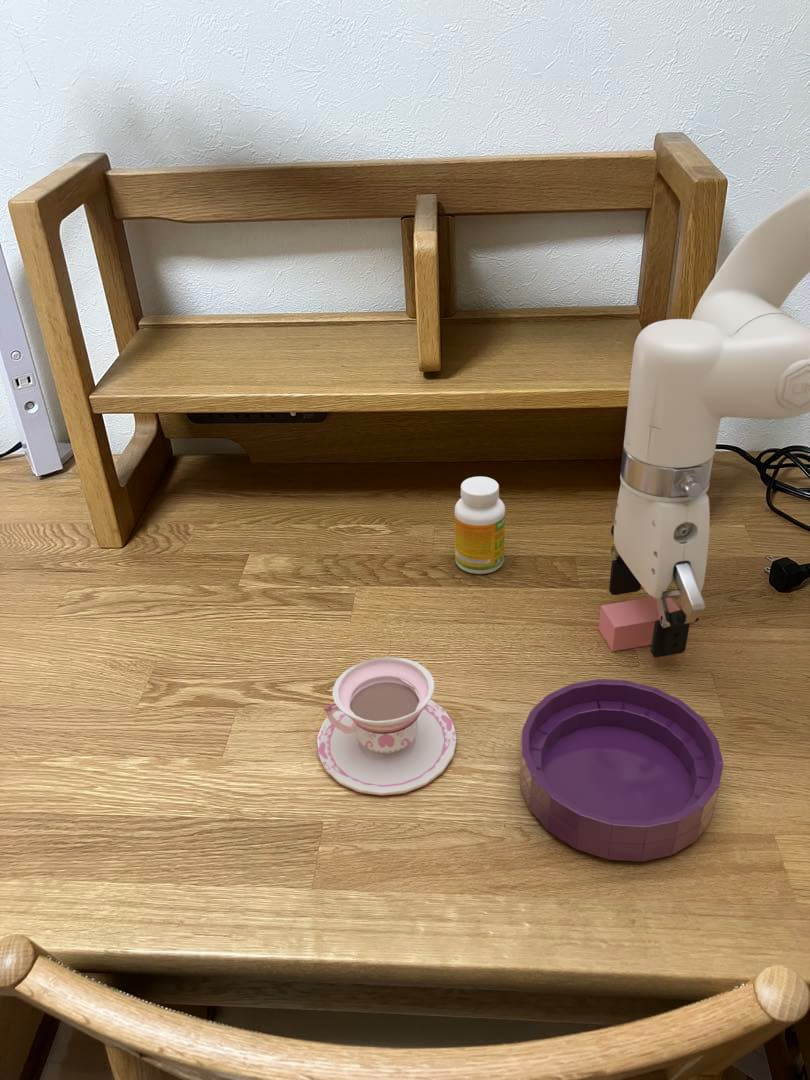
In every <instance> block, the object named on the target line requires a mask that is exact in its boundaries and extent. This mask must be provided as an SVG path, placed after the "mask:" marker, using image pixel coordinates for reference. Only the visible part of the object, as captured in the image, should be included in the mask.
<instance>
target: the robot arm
mask: <svg viewBox="0 0 810 1080" xmlns="http://www.w3.org/2000/svg"><path fill="white" fill-rule="evenodd" d="M809 273H810V184H809V185H807V186H806V187H804V188H803V189H801V190H799V191H798V192H797V193H796V194H794V195H793V196H791V197H790V198H789V199H788V200H786V201H785V202H784V203H782V204H781V205H780V206H779V207H777V208H776V209H775V210H774V211H772V212H771V213H769V214H768V215H767V216H766V217H764V218H763V219H762V220H761V221H759V222H758V223H757V224H756V225H754V227H752V228H751V229H750V230H749V231H748V232H747V233H746V234H745V235H744V236H743V237H742V238H741V240H740V241H738V243H737V244H736V245H735V247H733V249H732V251H730V252H729V254H728V255H727V257H726V259H725V260H724V262H723V263H722V265H721V266H720V268H719V269H718V271H717V272H716V274H715V275H714V277H713V278H712V280H711V281H710V282H709V284H708V286H707V287H706V289H705V291H704V292H703V294H702V295H701V297H700V299H699V301H698V303H697V304H696V307H695V308H694V311H693V313H692V315H691V317H690V319H689V318H672V319H663V320H659V321H656V322H653V323H650V324H648V325H647V326H645V327H644V328H643V329H642V330H641V331H640V332H639V333H638V335H637V337H636V339H635V341H634V345H633V352H632V361H631V369H630V381H629V388H628V389H629V390H628V400H627V407H626V408H627V409H626V418H625V427H624V429H625V430H624V438H623V446H622V456H621V464H620V465H621V466H620V474H619V475H620V476H619V480H620V485H619V489H618V496H617V501H616V503H611V506H610V509H611V518H612V519H611V521H612V524H613V525H612V526H611V528H610V534H611V535H612V539H613V544H614V545H612V547H610V555H611V557H612V560H611V566H610V577H609V585H608V591H609V594H611V595H612V596H619V595H625V594H631V593H637V592H640V591H641V588H643V589H644V591H645V592H646V593H647V594H648V595H649V596H650V597H653V598H655V599H656V604H657V609H658V614H659V619H660V620H657V621H655V624H654V631H653V638H652V645H650V655H651V656H652V657H653V658H655V659H657V658H662V657H667V656H674V655H679V654H683V653H684V652H685V651H686V648H687V642H688V636H689V632H690V631H689V630H690V625H691V624H694V623H696V622H698V621H699V620H700V617H701V616H702V615H703V613H704V612H705V610H706V604H705V599H704V598H703V595H702V593H701V592H702V591H703V588H704V584H705V578H706V572H707V564H708V555H709V554H708V553H709V545H710V528H711V527H710V526H711V518H710V517H711V516H710V515H711V514H710V512H711V511H710V498H709V495H708V493H707V492H708V490H709V489H710V483H711V478H712V473H713V472H712V471H713V465H714V460H715V452H716V448H717V442H718V435H719V429H720V424H721V419H723V418H741V419H757V420H784V419H791V418H795V417H800V416H802V415H805V414H807V413H810V327H808V326H807V325H805V324H803V323H802V322H800V321H799V320H797V319H795V318H794V317H792V316H791V315H789V313H787V312H784V311H783V310H781V309H780V308H781V307H782V305H783V304H784V302H786V300H787V298H788V297H789V296H790V294H791V293H792V292H793V290H794V289H795V288H796V287H797V285H799V284H800V282H801V281H802V280H803V279H804V278H805V277H806V276H807V275H808V274H809ZM671 583H675V584H676V587H677V589H670V590H668V588H669V587H670V585H671ZM669 597H670V598H674V597H678V600H679V605H680V610H678V611H674V612H671V613H669V609H668V603H667V598H669Z"/></svg>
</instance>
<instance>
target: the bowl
mask: <svg viewBox="0 0 810 1080" xmlns="http://www.w3.org/2000/svg"><path fill="white" fill-rule="evenodd" d="M520 736H521V737H520V738H521V739H520V756H519V757H520V760H519V761H520V762H519V786H520V789H521V792H522V794H523V796H524V799H525V802H526V804H527V807H528V809H529V811H530V812H531V813H532V814H533V815H534V817H536V818H537V820H538V821H539V823H540V824H541V825H542V826H543V827H544V828H545V829H546V830H547V832H549V833H550V834H552V835H554V836H555V837H557V838H558V839H560V840H561V841H563V842H564V843H566V844H567V845H569V846H571V847H572V848H574V849H576V850H578V851H580V852H584V853H587V854H589V855H593V856H595V857H600V858H603V859H604V860H610V861H626V862H627V861H628V862H647V861H651V860H655V859H661V858H664V857H665V858H666V857H670V856H673V855H675V854H677V853H678V852H680V851H682V850H683V849H685V848H687V847H688V846H690V845H691V844H693V843H695V842H696V841H698V839H699V838H700V836H702V834H703V833H704V831H705V830H706V828H707V827H708V826H709V824H710V823H711V821H712V819H713V815H714V811H715V806H716V802H717V799H718V794H719V789H720V784H721V780H722V775H723V769H724V759H723V755H722V751H721V747H720V743H719V740H718V738H717V737H716V735H715V734H714V732H713V730H712V729H711V728H710V726H709V725H708V723H707V722H706V721H705V719H704V717H702V716H701V715H700V714H698V713H697V712H696V711H695V710H694V709H692V708H691V707H690V706H688V704H686V703H685V702H684V701H683V700H681V699H679V698H677V697H675V696H673V695H671V694H669V693H667V692H665V691H663V690H661V689H659V688H657V687H654V686H649V685H646V684H642V683H638V682H633V681H630V680H625V679H624V680H622V679H601V678H600V679H599V678H597V679H591V680H585V681H581V682H580V681H579V682H574V683H571V684H568V685H566V686H563V687H561V688H559V689H557V690H555V691H552V692H550V693H548V694H547V695H545V696H544V698H543V699H541V700H540V701H539V702H538V703H537V704H536V705H534V707H532V709H531V710H530V711H529V714H528V716H527V718H526V720H525V723H524V725H523V727H522V728H521V735H520Z"/></svg>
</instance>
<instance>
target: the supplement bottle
mask: <svg viewBox="0 0 810 1080" xmlns="http://www.w3.org/2000/svg"><path fill="white" fill-rule="evenodd" d="M505 537H506V505H505V503H504V502H503V500H502V499H501V498H500V485H499V483H498V482H497V481H496V480H495V479H493V478H491V477H488V476H472V477H467V478H466V479H464V480H463V481H462V482H461V484H460V498H459V499H458V501H457V502H456V504H455V506H454V560H455V564H456V565H457V566H458V568H459V569H461V570H462V571H463V572H466V573H469V574H474V575H485V574H486V575H487V574H490V573H494V572H495V571H498V570H499V569H500V568H501V567H502V566H503V565H504V561H505Z"/></svg>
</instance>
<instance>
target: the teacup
mask: <svg viewBox="0 0 810 1080" xmlns="http://www.w3.org/2000/svg"><path fill="white" fill-rule="evenodd" d="M434 693H435V679H434V677H433V675H432V674H431V672H430V670H429V669H427V667H425V666H424V665H422V664H420V663H418V662H416V661H414V660H411V659H408V658H404V657H397V656H396V657H395V656H386V657H385V656H384V657H376V658H371V659H367V660H364V661H361V662H359V663H357V664H354V665H352V666H350V667H349V668H347V669H346V670H345V671H343V672H342V673H341V674H340V675H339V677H338V678H337V679H336V680H335V683H334V684H333V687H332V699H333V702H334V703H333V704H328V705H327V706H324V707H323V711H325V712H326V714H327V717H326V718H325V719H324V720H323V721H322V724H321V725H320V729H319V732H318V734H317V736H316V742H317V757H318V758H319V761H320V762H321V765H322V767H323V769H324V771H325V773H327V774H328V775H329V776H331V778H333V780H335V781H336V782H337V783H338V784H339V785H341V786H343V787H346V788H348V789H351V790H353V791H355V792H358V793H359V794H360V793H361V794H368V795H374V796H375V795H376V796H390V795H400V794H406V793H410V792H411V791H414V790H416V789H419V788H422V787H425V786H427V785H428V784H430V783H431V782H432V781H434V780H435V779H437V777H439V776H440V775H441V774H443V773H444V772H445V770H446V768H447V767H448V765H449V764H450V763H451V761H453V758H454V756H455V751H456V746H457V742H458V737H457V733H456V728H455V723H454V721H453V720H452V718H451V717H450V715H449V713H447V711H446V710H445V708H444V707H442V706H441V705H440V704H438V703H436V701H434V700H432V697H433V695H434Z"/></svg>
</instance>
